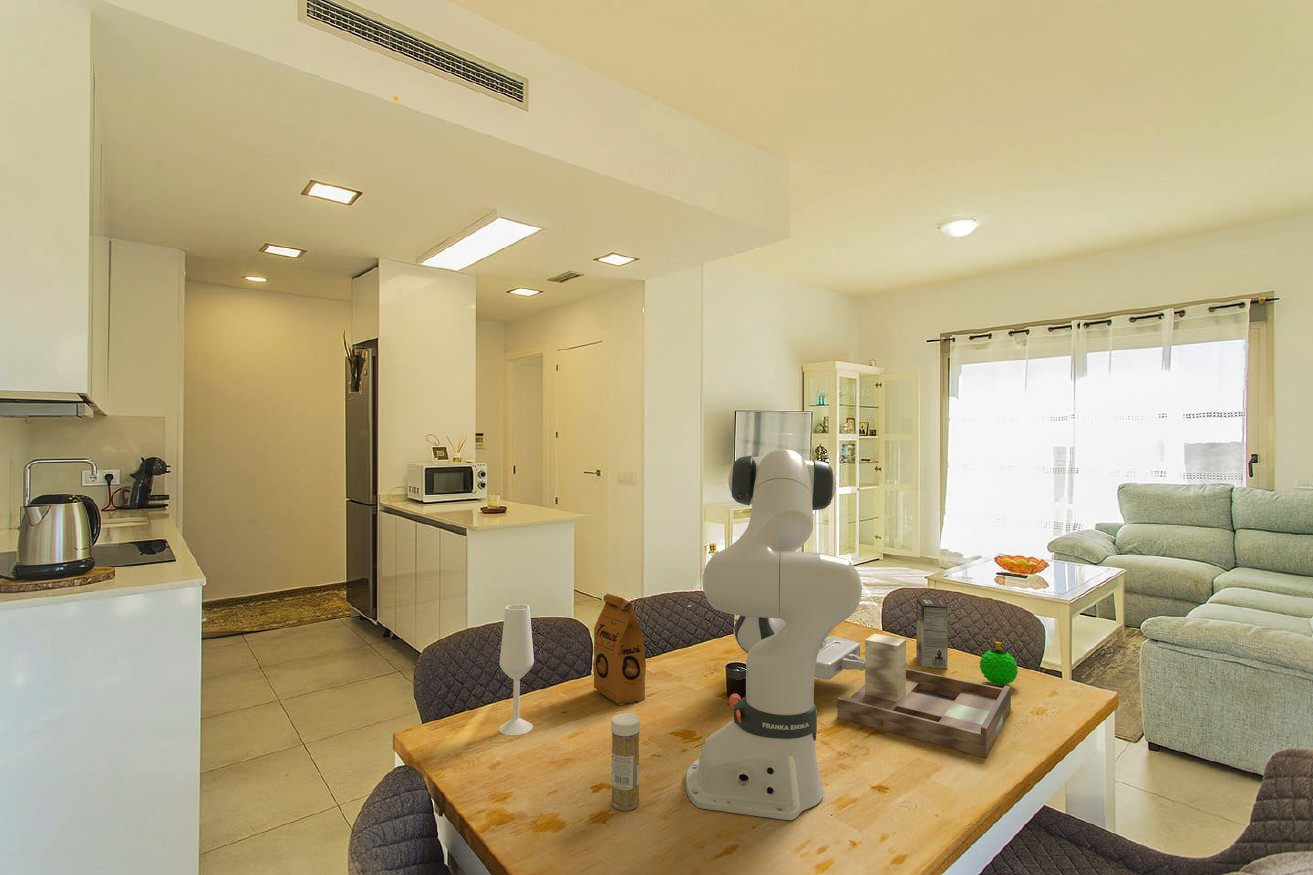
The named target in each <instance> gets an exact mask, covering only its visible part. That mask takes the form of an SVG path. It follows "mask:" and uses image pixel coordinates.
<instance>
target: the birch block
mask: <svg viewBox="0 0 1313 875" xmlns="http://www.w3.org/2000/svg"><path fill="white" fill-rule="evenodd" d="M864 640H865V642H864V644H865V646H864V649H865V650H864V651H865V652H864V656H865V657H864V659H865V669H864V677H865V678H864V680H865V681H864V685H865V695H870V696H874V697H878V698H882V699H886V700H890V701H894V702H898V701H899V700H900V699H901V698H902V697H903V696H904V695H905V694H906V668H907V639H906V638H900V637H894V636H889V635H884V634H877V633H873V634H872V635H870V636H869V637H867V638H866V639H864Z"/></svg>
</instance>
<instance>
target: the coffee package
mask: <svg viewBox="0 0 1313 875" xmlns="http://www.w3.org/2000/svg"><path fill="white" fill-rule="evenodd" d="M602 600H603V601H605V604H604V606H603V608H602V610H601V612H600V614H599V616H598V618H597V621H596V623H595V626H594V628H593V629H594V630H593V635H594V636H593V638H594V640H593V641H594V642H593V657H594V658H593V663H592V667H593V669H592V671H593V689H596V690H597V691H598V692H600V693H601V694H602V695H604V696H605V697H606V698H608V699H609V700H611V701H612V702H613V703H615V704H616V705H618V706H622V705H624V704H631V703H637V702H641V701H644V700H645V699H646V671H647V664H646V655H645V654H646V653H645V645H644V635H643V633H642V630H641V625H640V623H639V621H638V617H637V614H636V612H635V610H634V606H633V604H632V602H631V601H629V600H627V599H625V598H624V597H621V596H618V595H614V594H613V593H612V594H611V593H608V592H607V593H606V594H605V595H604V596H603V599H602Z"/></svg>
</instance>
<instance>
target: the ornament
mask: <svg viewBox="0 0 1313 875" xmlns="http://www.w3.org/2000/svg"><path fill="white" fill-rule="evenodd" d="M1002 644H1003V643H1002V642H1001V641H995V648H991V649H990V650H988V651H986V652H984V653H983V655H981V658H980V659H979V660H980V661H979V668H980V671H981V674H982V675H983V676H984V678H986V680H987V681H988V682H991V684H995V685H996V686H1008V685H1009V684H1010V683H1012V682H1014V680H1015V679H1017V675H1018V673H1019V672H1018V669H1019V668H1018V665H1017V664H1018V663H1017V661H1016V660H1015V658H1014V657H1013V656H1012V655H1011V653H1008V652H1007V651H1006V650H1004V649H1003V648H1002Z"/></svg>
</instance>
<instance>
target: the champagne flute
mask: <svg viewBox="0 0 1313 875" xmlns="http://www.w3.org/2000/svg"><path fill="white" fill-rule="evenodd" d="M530 607H531V606H530V605H528V604H524V603H516V604H510V605H506V606H505V608H504V617H503V626H502V637H501V644H500V656H499V667H500V668H501V670H502V672H503V673H504V674H505V675H506V676H507V677H509V678H510V679H512V680H513V691H512V692H513V695H512V697H513V702H512V704H513V708H512V718H511V719H510V720H507V721H506V722H504V723H503V724H501V725H500V726H499V728H498V731H499V732H500V734H503V735H505V736H520V735H524V734H528V733H529V732H531V731H532V730H533V729H534V725H533V724H532V723H531V722H529V721H527V720H525V719H523V718H520V684H521V683H520V680H521V679H522V678H523V677H524V676H525V675H527V673H528V672H530V670H531V669H532V667H533V665H534V662H535V658H534V644H533V633H532V621H531V610H530V609H531V608H530Z"/></svg>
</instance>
